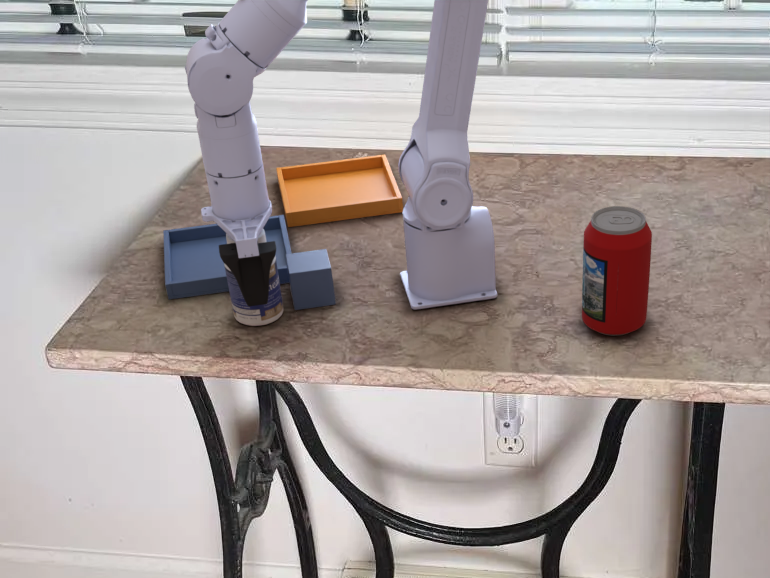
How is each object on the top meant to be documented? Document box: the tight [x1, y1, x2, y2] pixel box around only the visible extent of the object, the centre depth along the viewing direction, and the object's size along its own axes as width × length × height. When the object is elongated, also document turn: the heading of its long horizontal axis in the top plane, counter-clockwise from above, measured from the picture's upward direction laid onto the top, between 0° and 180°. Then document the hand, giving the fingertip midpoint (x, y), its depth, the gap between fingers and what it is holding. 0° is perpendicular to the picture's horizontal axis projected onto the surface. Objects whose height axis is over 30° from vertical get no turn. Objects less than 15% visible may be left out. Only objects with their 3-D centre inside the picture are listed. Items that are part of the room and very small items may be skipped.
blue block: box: [285, 248, 337, 311], centre depth 129 cm, size 4×4×4 cm
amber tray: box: [275, 154, 404, 228], centre depth 149 cm, size 14×13×2 cm
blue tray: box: [162, 214, 292, 300], centre depth 136 cm, size 14×13×2 cm
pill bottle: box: [224, 229, 284, 327], centre depth 125 cm, size 5×5×10 cm
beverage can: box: [581, 205, 653, 337], centre depth 120 cm, size 7×7×12 cm
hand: (254, 286), depth 126 cm, fingers open, 7 cm apart
